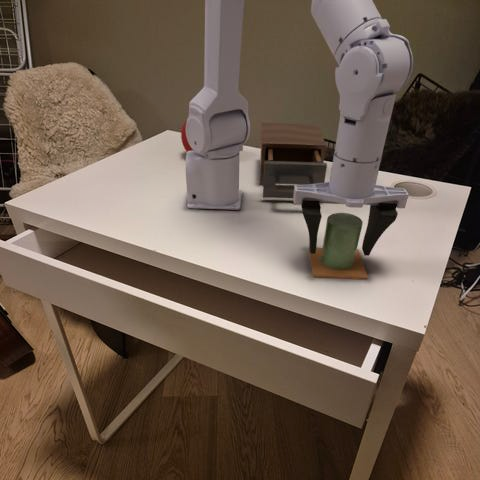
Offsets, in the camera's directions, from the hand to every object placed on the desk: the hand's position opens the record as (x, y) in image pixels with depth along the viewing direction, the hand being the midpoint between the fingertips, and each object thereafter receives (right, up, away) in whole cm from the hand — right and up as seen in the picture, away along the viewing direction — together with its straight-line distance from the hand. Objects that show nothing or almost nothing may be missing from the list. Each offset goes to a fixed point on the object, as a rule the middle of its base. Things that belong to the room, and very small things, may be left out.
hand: (338, 251), depth 60 cm
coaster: (0, -2, +1) cm, 2 cm away
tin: (0, -1, +1) cm, 2 cm away
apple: (-23, +28, +36) cm, 51 cm away
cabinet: (-4, +21, +29) cm, 36 cm away
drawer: (-4, +15, +20) cm, 25 cm away
